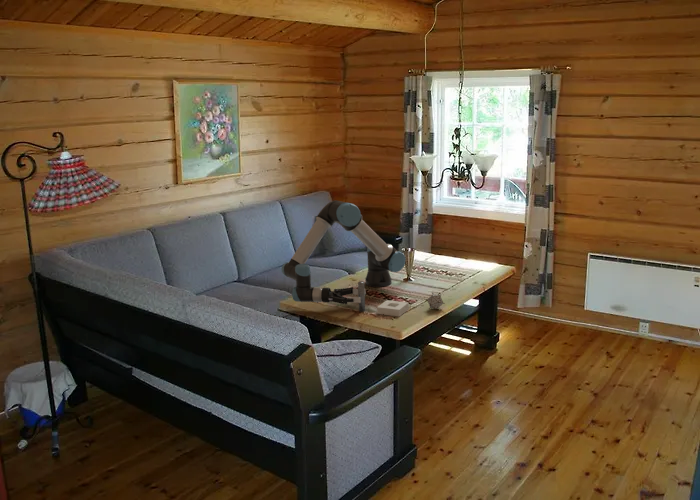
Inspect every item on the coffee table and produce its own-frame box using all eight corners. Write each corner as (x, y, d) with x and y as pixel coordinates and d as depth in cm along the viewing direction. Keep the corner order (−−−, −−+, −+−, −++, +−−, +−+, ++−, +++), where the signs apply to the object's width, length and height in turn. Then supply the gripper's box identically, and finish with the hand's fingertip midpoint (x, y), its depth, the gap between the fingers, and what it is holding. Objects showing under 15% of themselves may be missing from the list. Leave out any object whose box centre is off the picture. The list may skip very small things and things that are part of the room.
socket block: (387, 306, 351) (386, 300, 350) (408, 309, 346) (408, 302, 345) (377, 313, 340) (377, 307, 340) (399, 316, 335) (399, 309, 334)
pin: (360, 309, 348) (359, 281, 345) (366, 309, 347) (365, 281, 344) (357, 311, 346) (356, 282, 342) (363, 311, 344) (362, 283, 341)
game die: (439, 315, 346) (451, 300, 342) (429, 314, 339) (442, 299, 336) (428, 303, 351) (440, 289, 348) (419, 302, 344) (431, 287, 341)
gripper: (328, 294, 361) (367, 295, 357) (316, 309, 338) (358, 310, 333) (327, 281, 359) (367, 281, 355) (315, 295, 336) (357, 296, 331)
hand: (363, 295), depth 344 cm, fingers open, 13 cm apart
